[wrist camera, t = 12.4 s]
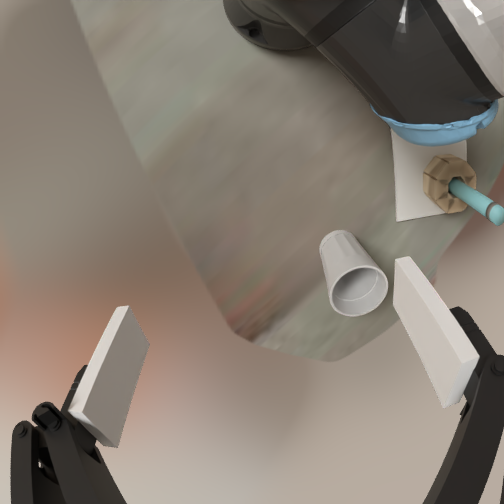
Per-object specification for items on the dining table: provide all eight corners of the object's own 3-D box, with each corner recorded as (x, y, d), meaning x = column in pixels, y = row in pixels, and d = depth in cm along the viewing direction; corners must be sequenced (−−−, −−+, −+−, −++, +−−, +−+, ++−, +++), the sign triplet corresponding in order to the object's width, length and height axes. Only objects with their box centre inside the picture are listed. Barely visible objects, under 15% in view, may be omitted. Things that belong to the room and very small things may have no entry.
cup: (362, 222, 47) (390, 261, 36) (362, 265, 51) (385, 310, 40) (312, 228, 47) (328, 270, 37) (315, 272, 51) (330, 320, 41)
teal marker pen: (437, 172, 42) (494, 208, 29) (449, 171, 42) (507, 206, 29) (437, 187, 43) (492, 227, 30) (449, 186, 43) (505, 224, 30)
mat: (386, 93, 37) (387, 93, 37) (461, 92, 36) (463, 92, 35) (395, 220, 47) (396, 221, 46) (463, 208, 45) (465, 209, 45)
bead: (422, 156, 41) (435, 163, 37) (462, 152, 40) (476, 159, 37) (423, 206, 45) (434, 216, 41) (461, 200, 44) (474, 208, 40)
